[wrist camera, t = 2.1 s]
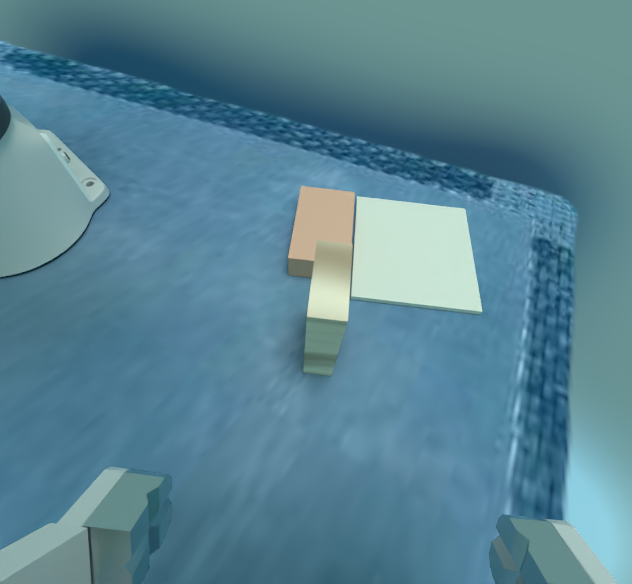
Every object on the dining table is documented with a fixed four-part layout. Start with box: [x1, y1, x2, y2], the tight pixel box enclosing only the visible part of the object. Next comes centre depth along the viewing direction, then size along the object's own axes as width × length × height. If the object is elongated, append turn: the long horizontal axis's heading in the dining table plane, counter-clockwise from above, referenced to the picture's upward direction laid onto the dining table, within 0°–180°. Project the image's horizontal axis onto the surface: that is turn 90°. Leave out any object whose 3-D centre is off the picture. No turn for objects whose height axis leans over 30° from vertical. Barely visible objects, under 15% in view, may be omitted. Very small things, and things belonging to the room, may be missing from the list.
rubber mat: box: [351, 196, 482, 315], centre depth 37 cm, size 14×13×1 cm
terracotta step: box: [288, 186, 355, 278], centre depth 36 cm, size 10×6×3 cm, turn 174°
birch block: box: [303, 240, 353, 376], centre depth 27 cm, size 6×2×11 cm, turn 174°
